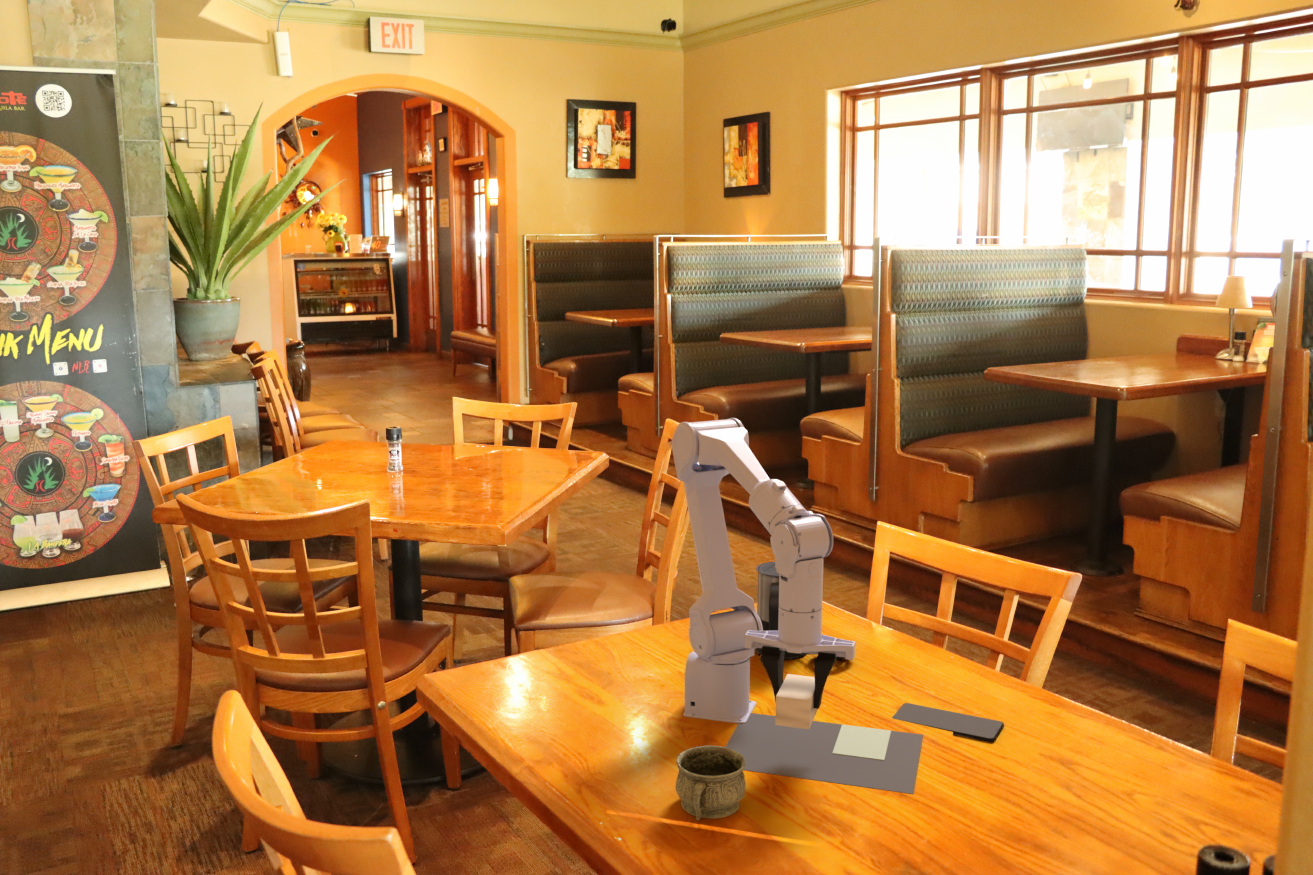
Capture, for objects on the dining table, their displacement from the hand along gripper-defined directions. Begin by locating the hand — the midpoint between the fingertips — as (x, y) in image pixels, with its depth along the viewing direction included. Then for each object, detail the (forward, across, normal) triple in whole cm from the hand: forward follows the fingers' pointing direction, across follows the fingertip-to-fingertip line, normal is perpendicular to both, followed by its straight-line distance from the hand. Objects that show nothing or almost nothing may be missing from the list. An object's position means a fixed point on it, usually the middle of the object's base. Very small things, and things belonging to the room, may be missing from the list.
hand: (798, 703), depth 147 cm
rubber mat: (+8, +3, +4) cm, 10 cm away
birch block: (+2, 0, 0) cm, 2 cm away
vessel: (+9, -8, -15) cm, 19 cm away
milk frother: (+9, -6, +40) cm, 41 cm away
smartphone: (+9, +19, +19) cm, 28 cm away
